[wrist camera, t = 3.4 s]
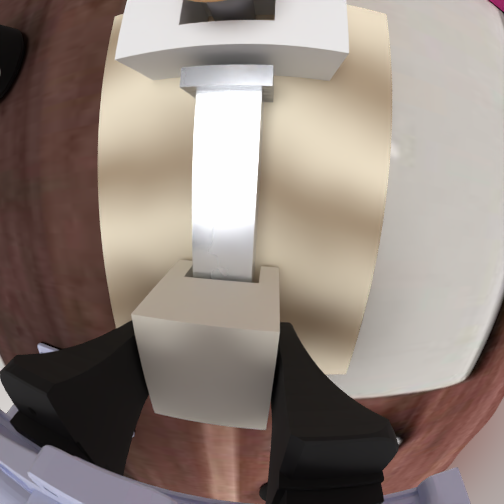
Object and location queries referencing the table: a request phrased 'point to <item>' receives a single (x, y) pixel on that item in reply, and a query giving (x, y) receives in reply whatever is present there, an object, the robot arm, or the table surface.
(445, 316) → the table surface
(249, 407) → the carriage
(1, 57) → the beverage can
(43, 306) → the table surface
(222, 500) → the robot arm
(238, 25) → the white block
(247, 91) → the rail
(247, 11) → the orange knob
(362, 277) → the base board
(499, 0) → the file sorter
